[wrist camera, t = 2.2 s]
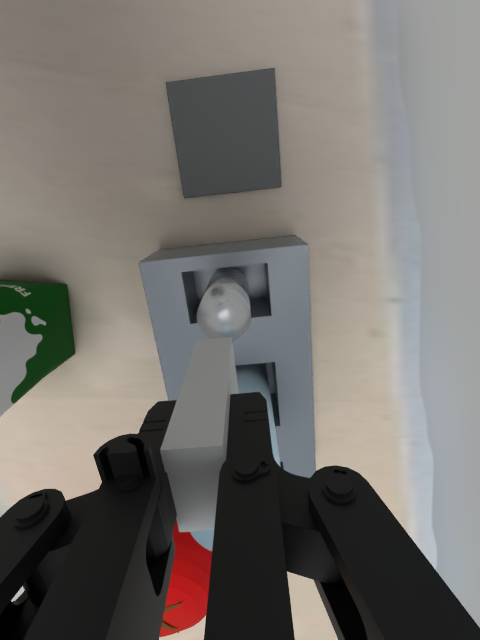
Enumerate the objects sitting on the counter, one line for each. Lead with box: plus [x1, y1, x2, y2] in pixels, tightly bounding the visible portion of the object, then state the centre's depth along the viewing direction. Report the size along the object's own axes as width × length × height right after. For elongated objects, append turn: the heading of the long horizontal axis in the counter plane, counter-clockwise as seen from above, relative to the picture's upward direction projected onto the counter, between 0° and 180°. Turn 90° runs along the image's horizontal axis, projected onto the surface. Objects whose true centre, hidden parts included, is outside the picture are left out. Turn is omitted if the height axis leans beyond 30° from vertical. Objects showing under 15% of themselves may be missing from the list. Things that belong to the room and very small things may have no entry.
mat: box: [166, 68, 281, 198], centre depth 25 cm, size 8×8×1 cm
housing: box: [139, 235, 316, 478], centre depth 30 cm, size 24×12×6 cm, turn 6°
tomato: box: [159, 520, 212, 637], centre depth 36 cm, size 14×13×10 cm
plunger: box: [197, 268, 251, 341], centre depth 22 cm, size 3×3×7 cm
